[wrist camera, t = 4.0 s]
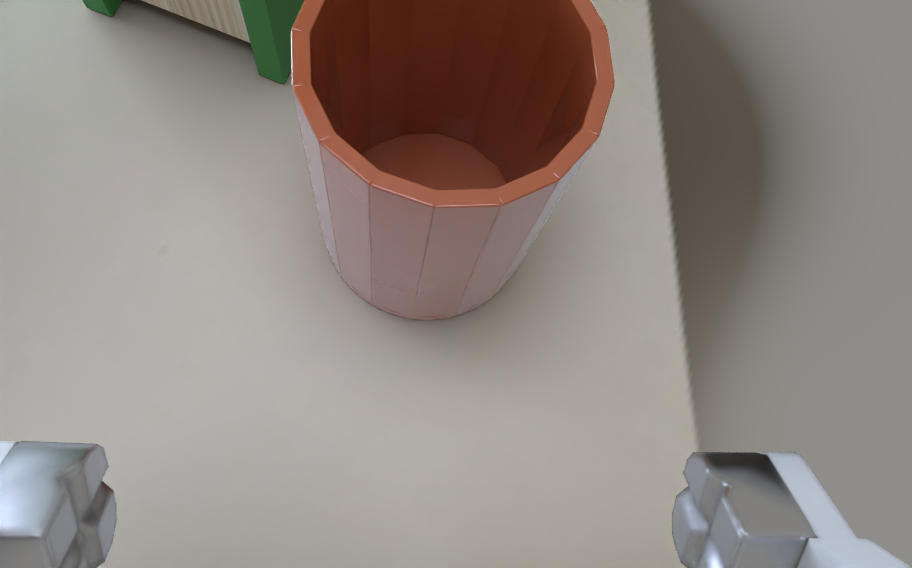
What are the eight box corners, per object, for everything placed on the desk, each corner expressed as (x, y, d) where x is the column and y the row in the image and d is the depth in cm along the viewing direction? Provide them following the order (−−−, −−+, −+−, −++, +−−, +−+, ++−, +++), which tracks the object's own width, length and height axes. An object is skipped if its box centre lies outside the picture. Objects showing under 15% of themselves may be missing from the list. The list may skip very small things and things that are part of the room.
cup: (490, 348, 24) (564, 253, 15) (292, 280, 24) (238, 140, 15) (547, 168, 26) (645, -19, 17) (365, 105, 26) (358, -119, 17)
